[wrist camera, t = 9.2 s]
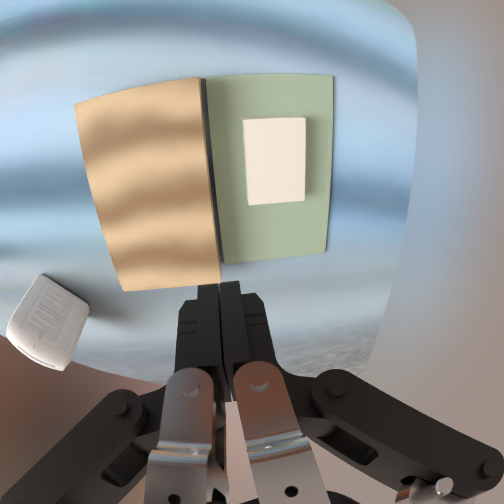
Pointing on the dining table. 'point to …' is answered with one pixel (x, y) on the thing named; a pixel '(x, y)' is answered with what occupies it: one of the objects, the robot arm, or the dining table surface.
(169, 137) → the board
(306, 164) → the sage mat
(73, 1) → the dining table surface
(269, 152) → the cream tile
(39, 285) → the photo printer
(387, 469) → the robot arm
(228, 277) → the dining table surface
